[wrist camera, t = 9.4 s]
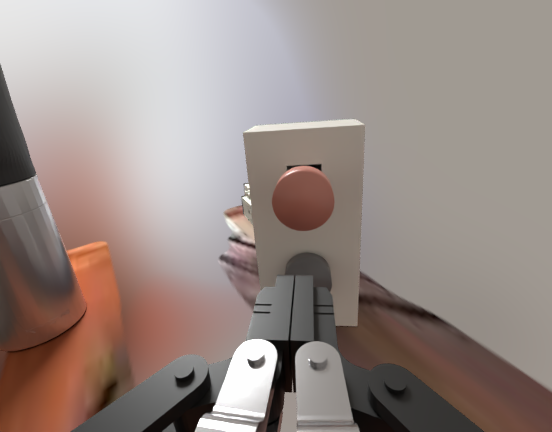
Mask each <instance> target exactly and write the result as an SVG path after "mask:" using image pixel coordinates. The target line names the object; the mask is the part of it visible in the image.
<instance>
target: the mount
mask: <svg viewBox="0 0 552 432" xmlns="http://www.w3.org/2000/svg"><path fill="white" fill-rule="evenodd" d="M243 137H244V145H245V154H246V164H247V172H248V181H249V191H250V200H251V209H252V218H253V227H254V236H255V245H256V254H257V263H258V272H259V281H260V290H262V289H263V288H264V287H275V284H276V278H277V275H285V269H286V265H287V263H288V261H289V260H290V259H291V258H292V257H294V256H295V255H297V254H300V253H306V252H308V253H315V254H317V255H320V256H321V257H323V258H324V259H325V260H326V261H327V263H328V264H329V266H330V271H331V280H332V288H331V291H330V293H331V294H332V298H333V307H334V317H335V326H357V324H358V298H359V272H360V246H361V245H360V244H361V220H362V219H361V217H362V194H363V168H364V142H365V124H363V123H361V122H359V121H357V120H355V119H341V120H326V121H311V122H296V123H281V124H267V125H256V126H254V127H252V128H251V129H249V130H247V131H245V132H243ZM300 165H310V166H311V167H314V168H316V169H318V170H320V171H321V172H323V173H324V174H325V175H326V176H327V178H328V179H329V181H330V183H331V186H332V190H333V194H334V201H335V202H334V209H333V212H332V214H331V216H330V218H329V219H328V220H327V221H326V222H325V223H324V224H323V225H322V226H320V227H318V228H316V229H313V230H309V231H297V230H293V229H291V228H288V227H287V226H285V225H284V224H282V223H281V222H280V221H279V220H278V218H277V217H276V215H275V213H274V211H273V207H272V196H273V192H274V190H275V187H276V185H277V182H278V180H279V179H280V177H281V176H282V175H283V174H284V173H285V172H286V171H288V170H289V169H291V168H294V167H298V166H300Z"/></svg>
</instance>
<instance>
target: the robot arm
mask: <svg viewBox="0 0 552 432" xmlns="http://www.w3.org/2000/svg"><path fill="white" fill-rule="evenodd" d="M85 310H86V302H85V299H84V296H83V294H82V291H81V289H80V286H79V283H78V281H77V278H76V275H75V272H74V270H73V267H72V265H71V262H70V259H69V257H68V254H67V252H66V249H65V246H64V244H63V241H62V238H61V236H60V234H59V231H58V228H57V226H56V223H55V220H54V218H53V215H52V213H51V210H50V207H49V205H48V202H47V200H46V197H45V195H44V192H43V189H42V187H41V184H40V182H39V179H38V176H37V174H36V172H35V169H34V166H33V164H32V161H31V158H30V155H29V151H28V147H27V144H26V141H25V138H24V135H23V133H22V130H21V127H20V124H19V122H18V119H17V116H16V113H15V110H14V107H13V104H12V101H11V97H10V94H9V91H8V87H7V84H6V81H5V78H4V74H3V71H2V68H1V65H0V350H1V351H17V350H22V349H26V348H30V347H33V346H36V345H39V344H41V343H44V342H46V341H48V340H50V339H52V338H54V337H56V336H58V335H59V334H61V333H63V332H64V331H66V330H67V329H69V328H70V327H71V326H73V325H74V324H75V323H76V322H77V321H78V320H79V319H80V318H81V317H82V315H83V314H84V312H85ZM292 380H293V389H294V392H296V399H297V432H484V431H483V430H482V429H480V428H479V427H478V426H477V425H475V424H474V423H473V422H472V421H470V420H469V419H468V418H467V417H465V416H464V415H463V414H462V413H460V412H459V411H458V410H457V409H455V408H454V407H453V406H452V405H451V404H449V403H448V402H447V401H446V400H444V399H443V398H442V397H441V396H439V395H438V394H437V393H436V392H434V391H433V390H432V389H431V388H429V387H428V386H427V385H426V384H424V383H423V382H422V381H421V380H420V379H418V378H417V377H416V376H415V375H413V374H412V373H411V372H409V371H408V370H407V369H405V368H403V367H401V366H398V365H395V364H380V365H377V366H376V367H374V368H373V369H372V370H371V371H370V370H367V369H364V368H361V367H358V366H355V365H353V364H352V363H350V362H349V361H347V360H346V359H345V358H344V357H343V356H342V355H341V353H340V351H339V349H338V345H337V336H336V326H335V317H334V307H333V298H332V294H331V293H330V292H329V290H328V289H327V288H326V287H313V275H296V278H295V275H277V278H276V284H275V287H264V288H263V289H262V290H261V291H260V293H259V294H258V295H257V299H256V303H255V307H254V311H253V315H252V318H251V322H250V326H249V330H248V334H247V337H246V341H245V343H244V344H242V345H241V346H240V347H239V348H238V349H237V350H236V352H235V354H234V356H233V357H232V358H230V359H228V360H225V361H222V362H217V363H213V364H209V365H208V364H207V362H206V360H205V359H204V358H203V357H201V356H198V355H186V356H182V357H179V358H178V359H176V360H174V361H173V362H171V363H170V364H168V365H167V366H165V367H164V368H162V369H161V370H160V371H158V372H157V373H155V374H154V375H152V376H151V377H149V378H148V379H146V380H145V381H144V382H142V383H141V384H139V385H138V386H136V387H135V388H133V389H132V390H130V391H129V392H128V393H126V394H125V395H123V396H122V397H120V398H119V399H117V400H116V401H115V402H113V403H112V404H110V405H109V406H107V407H106V408H104V409H103V410H101V411H100V412H99V413H97V414H96V415H94V416H93V417H91V418H90V419H88V420H87V421H86V422H84V423H83V424H81V425H80V426H78V427H77V428H75V429H74V430H72V431H71V432H280V429H281V423H282V414H283V413H282V409H283V405H284V394H285V392H292Z"/></svg>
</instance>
